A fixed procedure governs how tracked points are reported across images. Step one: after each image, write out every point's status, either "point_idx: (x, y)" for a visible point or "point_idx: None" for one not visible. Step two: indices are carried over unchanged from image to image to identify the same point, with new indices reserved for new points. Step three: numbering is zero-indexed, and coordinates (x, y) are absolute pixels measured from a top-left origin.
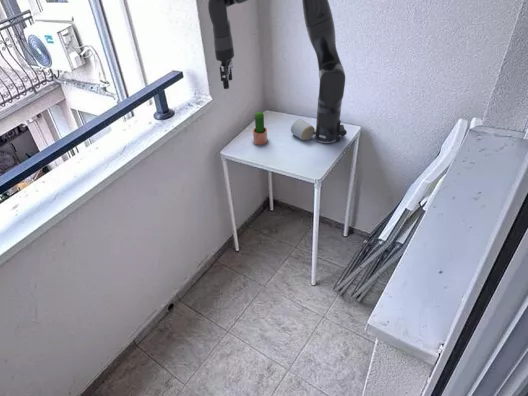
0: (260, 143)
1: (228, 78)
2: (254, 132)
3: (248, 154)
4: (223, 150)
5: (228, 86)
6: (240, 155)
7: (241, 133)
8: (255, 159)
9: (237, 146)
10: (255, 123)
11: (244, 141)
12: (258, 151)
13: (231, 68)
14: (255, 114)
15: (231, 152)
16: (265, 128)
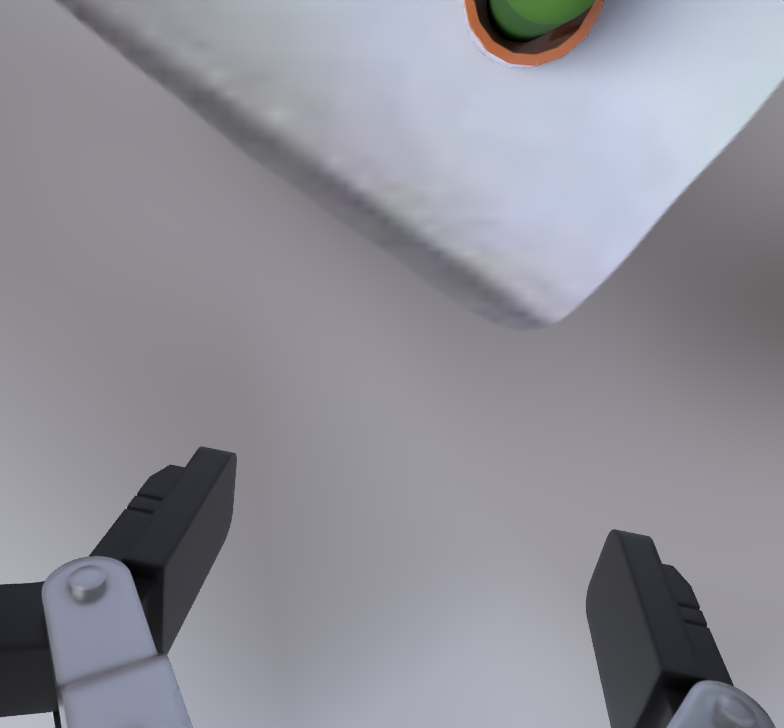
0: None
1: (217, 531)
2: (564, 51)
3: (682, 122)
4: (563, 314)
5: (659, 563)
6: (675, 188)
7: (346, 168)
8: (778, 65)
9: (537, 207)
10: (553, 28)
11: (476, 147)
12: (665, 31)
13: (165, 656)
14: (561, 12)
15: (609, 256)
16: None
